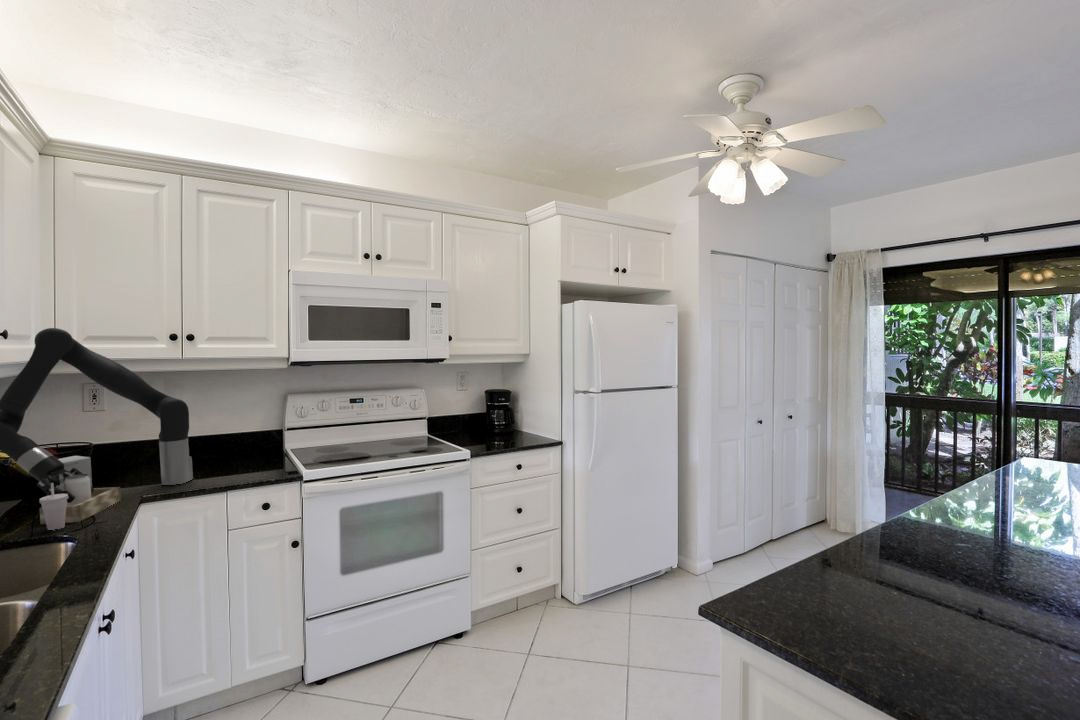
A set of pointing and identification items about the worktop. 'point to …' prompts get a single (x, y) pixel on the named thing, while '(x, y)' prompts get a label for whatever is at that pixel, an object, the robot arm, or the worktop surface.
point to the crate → (90, 505)
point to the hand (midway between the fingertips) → (82, 496)
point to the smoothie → (54, 509)
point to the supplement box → (78, 465)
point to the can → (78, 488)
